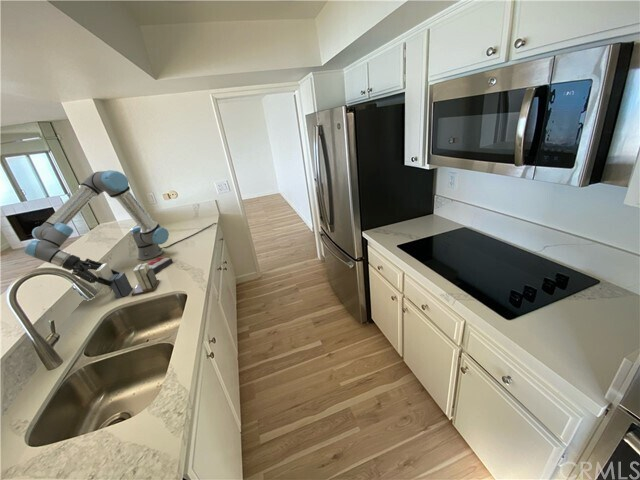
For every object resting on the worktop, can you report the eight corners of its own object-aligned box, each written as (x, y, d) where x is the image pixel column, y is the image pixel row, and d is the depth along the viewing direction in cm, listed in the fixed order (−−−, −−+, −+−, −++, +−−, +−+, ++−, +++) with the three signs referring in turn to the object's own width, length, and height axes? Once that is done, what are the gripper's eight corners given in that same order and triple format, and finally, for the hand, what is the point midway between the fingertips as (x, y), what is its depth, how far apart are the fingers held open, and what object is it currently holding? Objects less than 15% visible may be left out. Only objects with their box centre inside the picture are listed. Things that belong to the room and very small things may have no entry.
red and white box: (171, 257, 176) (152, 267, 163) (173, 263, 177) (154, 274, 164) (158, 257, 179) (139, 267, 166) (160, 262, 181) (141, 273, 167)
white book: (113, 283, 148) (102, 263, 143) (117, 282, 149) (107, 262, 143) (106, 292, 140) (94, 271, 135) (110, 291, 141) (99, 270, 135)
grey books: (121, 291, 150) (113, 274, 145) (132, 288, 151) (124, 272, 146) (116, 298, 143) (107, 281, 139) (127, 295, 145) (119, 278, 140)
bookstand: (139, 285, 153) (129, 265, 148) (159, 281, 155) (150, 260, 150) (132, 296, 143) (121, 274, 138) (154, 291, 146) (144, 269, 140)
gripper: (75, 257, 144) (120, 275, 153) (49, 277, 124) (102, 296, 134) (81, 246, 143) (126, 265, 152) (56, 264, 123) (109, 284, 133)
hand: (115, 279), depth 143 cm, fingers closed on white book, 9 cm apart
